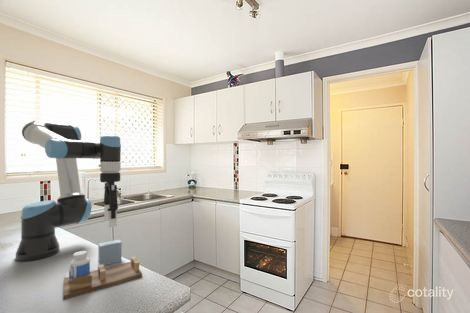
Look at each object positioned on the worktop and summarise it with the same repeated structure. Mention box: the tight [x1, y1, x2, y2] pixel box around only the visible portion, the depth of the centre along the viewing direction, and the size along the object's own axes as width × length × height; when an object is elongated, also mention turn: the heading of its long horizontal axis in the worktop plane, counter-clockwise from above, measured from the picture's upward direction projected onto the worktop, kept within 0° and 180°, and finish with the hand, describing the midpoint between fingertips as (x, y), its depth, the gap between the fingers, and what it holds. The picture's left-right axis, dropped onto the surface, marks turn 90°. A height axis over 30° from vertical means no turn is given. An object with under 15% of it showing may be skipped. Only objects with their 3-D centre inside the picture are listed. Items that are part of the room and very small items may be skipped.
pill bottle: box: [70, 250, 91, 279], centre depth 79 cm, size 6×5×10 cm
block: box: [98, 239, 122, 266], centre depth 97 cm, size 4×8×8 cm, turn 126°
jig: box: [63, 256, 143, 300], centre depth 83 cm, size 13×23×4 cm, turn 126°
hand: (110, 223), depth 97 cm, fingers open, 13 cm apart
